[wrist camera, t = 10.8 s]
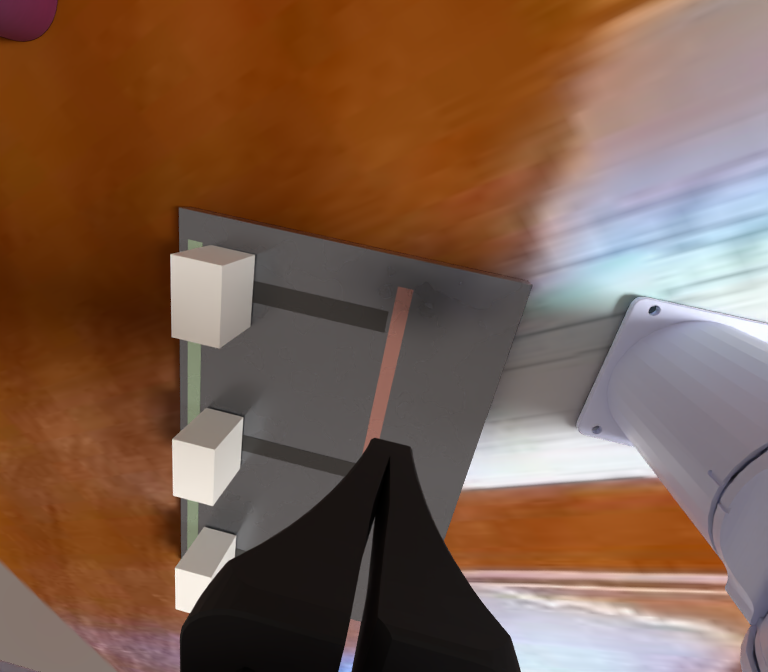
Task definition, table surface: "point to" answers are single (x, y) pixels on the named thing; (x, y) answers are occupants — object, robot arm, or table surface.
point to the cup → (25, 18)
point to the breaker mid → (206, 456)
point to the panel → (343, 372)
